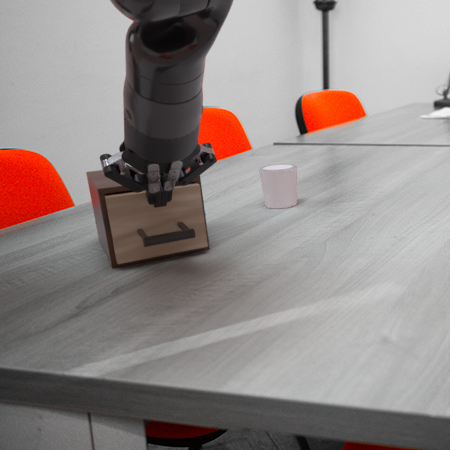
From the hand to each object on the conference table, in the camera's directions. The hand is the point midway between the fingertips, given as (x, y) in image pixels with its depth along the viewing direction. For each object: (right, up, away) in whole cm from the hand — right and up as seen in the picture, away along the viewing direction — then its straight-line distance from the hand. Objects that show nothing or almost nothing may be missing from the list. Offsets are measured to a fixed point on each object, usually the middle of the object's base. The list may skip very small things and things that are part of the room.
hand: (158, 201), depth 73 cm
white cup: (+9, 0, +31) cm, 33 cm away
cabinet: (-5, -6, +10) cm, 13 cm away
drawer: (-2, -6, +6) cm, 9 cm away
